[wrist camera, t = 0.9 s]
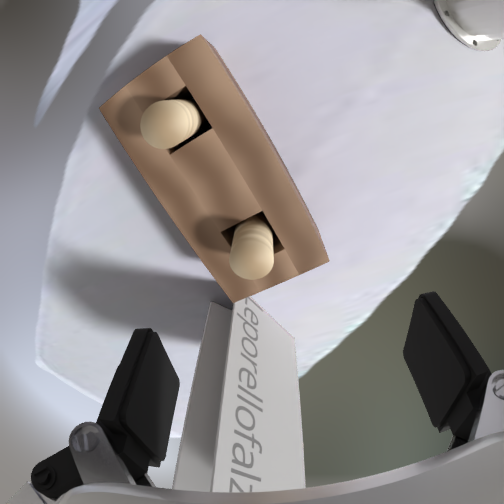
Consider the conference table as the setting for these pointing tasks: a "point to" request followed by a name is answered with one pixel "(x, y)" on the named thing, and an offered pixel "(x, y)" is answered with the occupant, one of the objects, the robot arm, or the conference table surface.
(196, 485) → the brochure
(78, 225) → the conference table surface
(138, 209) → the conference table surface
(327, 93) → the conference table surface
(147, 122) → the peg
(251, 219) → the peg
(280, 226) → the walnut block
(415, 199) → the conference table surface
